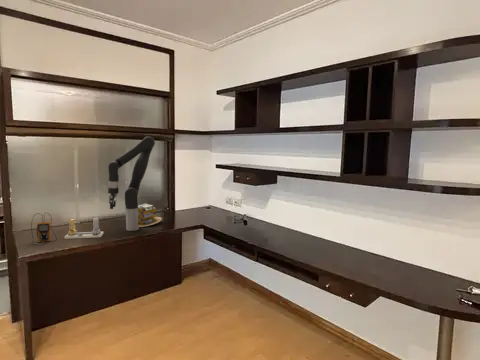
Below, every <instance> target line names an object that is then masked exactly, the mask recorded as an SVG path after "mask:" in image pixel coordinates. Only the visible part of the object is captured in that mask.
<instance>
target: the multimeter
mask: <svg viewBox="0 0 480 360" xmlns="http://www.w3.org/2000/svg"><path fill="white" fill-rule="evenodd" d="M37 214H39V215H41V216H42V217H41V219H42V220H41V222H38V223H36V236H37V241H38V242H39V243H36V242H35V243H34V241H32V242H31V244H32V245H33V244H34V245H38V246H39V245H43V244H45V243H46V242H51V243H53V242H55V240H54V241H51V239H52V237H51V236H52V234H51V230H52V232H53V235H54V236H55V238H56V240H58V238H57V236H56V234H55V232H54V229H52V228H53V227H51V224H52V221H53V220H52V215H51V214H50V213H49V212H47V214H48V215H49V216H50V221H46V220H45V217H44V215H45V214H46V212H44V214H43V215H42V213H38V212H37V213H36V215H37ZM34 218H35V215H32V220H31V221H33V220H34ZM30 225H31V226H30V227H31V230H30V231H33V227H32V226H33V222H31V224H30ZM31 236H32V238H34V235H33V233H31ZM41 242H42V243H41Z"/></svg>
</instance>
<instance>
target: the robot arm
mask: <svg viewBox="0 0 480 360" xmlns="http://www.w3.org/2000/svg"><path fill="white" fill-rule="evenodd" d="M155 141H156V140H155V139H154V137H152V136H145V137H143V138H142V140H141V141H139V142H138V143H137V144H136V145H135V146H134V147H132V148H131V149H128V150H127V151H126V152H124V153H122V154H121V155H120V156H119V157H118V158H116V159H114V160H113V161H110V162H108V166H107V167H108V184H107V185H108V188H107V193H108V194H110V195H109V199H108V202H109V209H110V210H113V209H114V208H115V207H116V206H117V205H116V203H117V201H118V200H117V197H118V194H119V192H120V191H119V189H120V185H119V183H120V182H119V181H120V180H119V170H120V168H122V167H123V166H124V165H125V164H126V165H127V163H129V162H131V161H132V160H133V159H135V158H136V157H137V156H138V157H137V158H136V161H135V164H134V165H133V170H132V174H131V180H130V183H129V185H128V187H127V189H126V190H125V192H124V205H125V223H126V224H125V226H126V228H125V229H126V231H129V232H132V231H138V230H139V228H140V227H139V217H138V205H139V203H138V202H139V201H138V195H139V189H140V186H141V183H142V180H143V179H144V176H145V174H146V171H147V168H148V164H149V161H150V160H149V159H150V157H151V153H152V151H153V148H154V147H155V144H156V142H155Z"/></svg>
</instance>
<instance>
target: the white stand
mask: <svg viewBox="0 0 480 360" xmlns="http://www.w3.org/2000/svg"><path fill="white" fill-rule="evenodd" d="M99 220H100V219H99V218H98V217H94V218H92V222H93V223H92V224H93V225H92V227H93V229H92V231H86V232H85V231H83V232H82V231H81V232H78V231H77V232H76V233H75V234H72V236H71V234H68V233H67V234H66V235H64V239H65V240H66V239H68V240H72V239H87V238H88V239H89V238H102V237H103V235H104V233H105V231H101V228H100V223H99Z"/></svg>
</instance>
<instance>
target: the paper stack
mask: <svg viewBox="0 0 480 360" xmlns="http://www.w3.org/2000/svg"><path fill="white" fill-rule="evenodd" d="M156 211H157V210H156V207H155V206H154V205H153V204H149V203H142V204H138V217H139V228H140V227H141V228H143V227H148V226H152V225H155V224H158V223H159V222H161V221H162V220H163V217H160V216H157V215H156V214H157V212H156Z"/></svg>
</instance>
